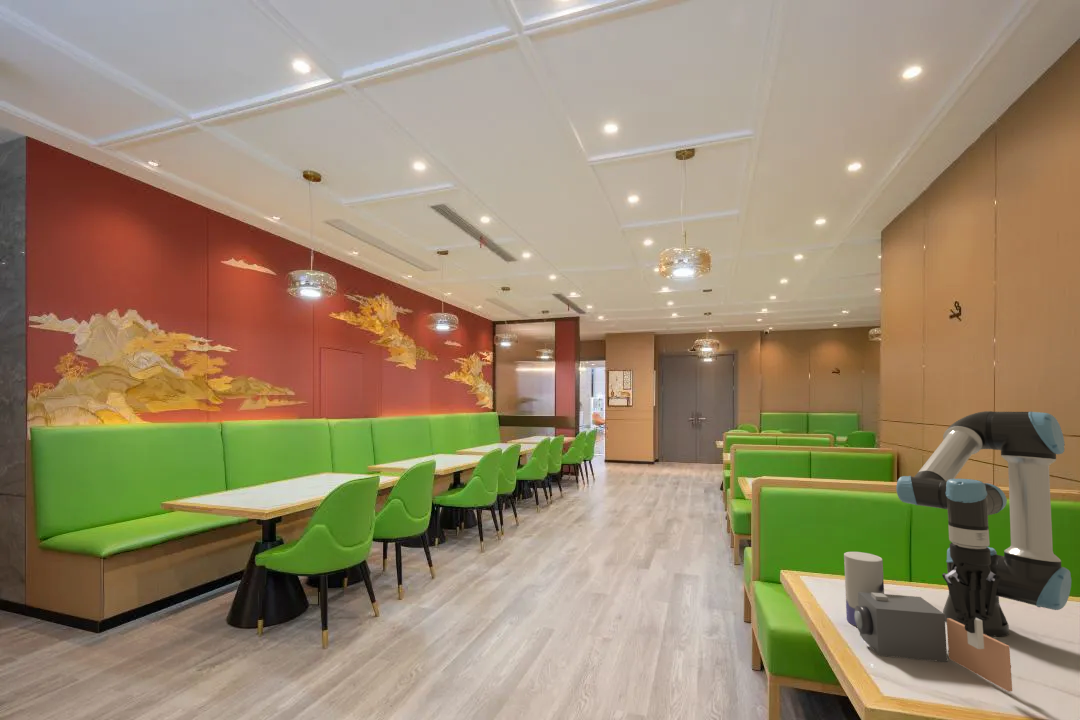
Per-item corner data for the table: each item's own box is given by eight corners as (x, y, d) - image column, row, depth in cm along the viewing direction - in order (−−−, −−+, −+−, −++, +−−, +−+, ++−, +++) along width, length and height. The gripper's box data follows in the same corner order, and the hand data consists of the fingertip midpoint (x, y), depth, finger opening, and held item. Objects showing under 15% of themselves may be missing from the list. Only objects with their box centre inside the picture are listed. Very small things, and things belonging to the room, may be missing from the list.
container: (892, 632, 148) (888, 562, 149) (854, 629, 150) (851, 559, 151) (876, 618, 157) (873, 552, 159) (841, 615, 159) (838, 550, 161)
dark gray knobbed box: (922, 640, 142) (920, 593, 143) (947, 662, 131) (944, 610, 132) (850, 634, 146) (848, 587, 147) (867, 654, 134) (865, 603, 136)
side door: (948, 658, 131) (946, 618, 131) (955, 658, 131) (953, 618, 132) (1008, 691, 116) (1005, 646, 117) (1016, 691, 116) (1013, 645, 117)
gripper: (957, 549, 118) (963, 654, 116) (1010, 548, 119) (1017, 653, 117) (930, 540, 125) (936, 639, 124) (980, 540, 126) (987, 638, 124)
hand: (975, 646), depth 120 cm, fingers closed
